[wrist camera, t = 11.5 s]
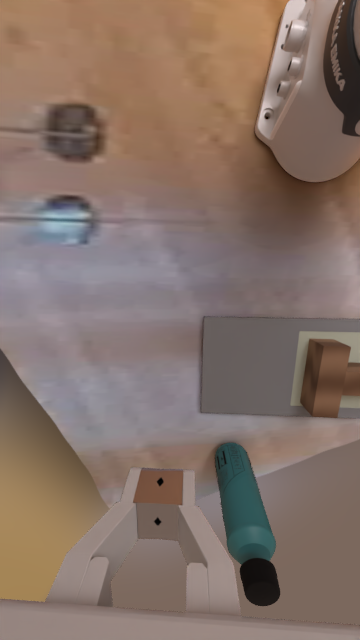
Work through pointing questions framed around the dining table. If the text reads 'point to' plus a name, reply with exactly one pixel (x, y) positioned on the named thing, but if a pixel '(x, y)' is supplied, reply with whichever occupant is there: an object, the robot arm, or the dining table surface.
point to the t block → (328, 377)
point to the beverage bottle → (246, 524)
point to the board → (267, 363)
